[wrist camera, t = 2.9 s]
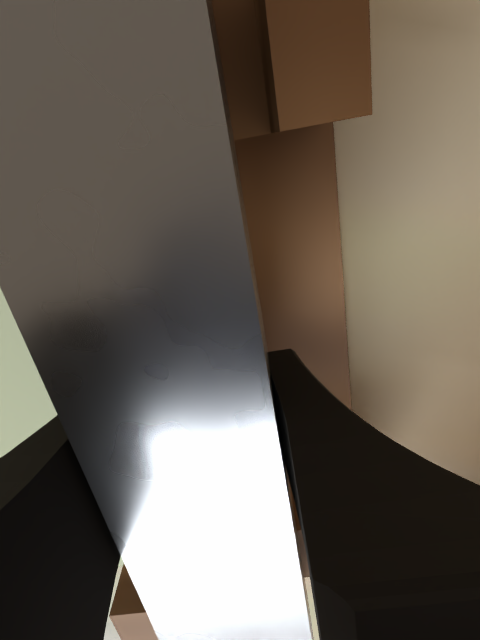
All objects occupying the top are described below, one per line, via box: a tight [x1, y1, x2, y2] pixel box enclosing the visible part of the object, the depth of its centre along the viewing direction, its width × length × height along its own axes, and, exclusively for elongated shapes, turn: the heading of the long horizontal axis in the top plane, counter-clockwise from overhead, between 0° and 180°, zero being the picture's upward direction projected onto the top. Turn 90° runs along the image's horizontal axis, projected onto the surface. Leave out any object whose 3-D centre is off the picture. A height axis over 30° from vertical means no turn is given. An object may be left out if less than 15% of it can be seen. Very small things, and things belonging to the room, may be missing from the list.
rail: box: [0, 0, 314, 640], centre depth 9 cm, size 18×4×4 cm, turn 10°
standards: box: [109, 0, 372, 640], centre depth 11 cm, size 18×8×5 cm, turn 10°
